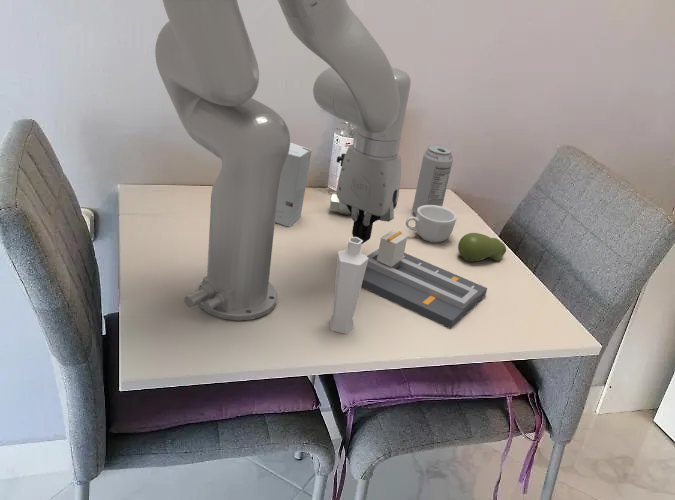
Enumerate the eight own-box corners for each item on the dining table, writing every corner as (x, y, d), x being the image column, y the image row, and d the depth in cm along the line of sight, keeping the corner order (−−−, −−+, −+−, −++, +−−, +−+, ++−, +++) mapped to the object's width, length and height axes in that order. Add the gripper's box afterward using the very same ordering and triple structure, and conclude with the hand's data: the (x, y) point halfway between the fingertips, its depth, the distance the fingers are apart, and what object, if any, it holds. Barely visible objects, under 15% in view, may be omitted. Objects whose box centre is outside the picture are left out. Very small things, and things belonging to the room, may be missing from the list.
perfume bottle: (358, 321, 107) (373, 236, 100) (352, 336, 103) (368, 249, 96) (329, 314, 108) (343, 229, 100) (323, 329, 104) (336, 242, 97)
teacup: (442, 228, 141) (447, 204, 139) (456, 246, 135) (463, 222, 132) (396, 228, 138) (401, 204, 136) (409, 246, 132) (414, 221, 129)
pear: (458, 226, 130) (499, 231, 134) (449, 251, 132) (489, 254, 136) (475, 240, 125) (516, 244, 130) (464, 265, 127) (505, 268, 132)
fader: (390, 273, 118) (396, 242, 115) (375, 266, 119) (381, 235, 117) (401, 264, 121) (408, 234, 118) (387, 258, 123) (393, 228, 120)
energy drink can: (427, 207, 149) (442, 142, 142) (445, 219, 145) (460, 153, 138) (405, 211, 146) (419, 144, 139) (422, 223, 142) (437, 155, 135)
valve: (361, 222, 138) (370, 167, 133) (328, 218, 138) (336, 162, 132) (361, 209, 144) (370, 155, 138) (329, 204, 144) (337, 151, 138)
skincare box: (252, 216, 134) (258, 144, 127) (265, 206, 139) (272, 136, 132) (291, 228, 132) (300, 155, 125) (303, 217, 137) (312, 146, 130)
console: (450, 328, 109) (454, 314, 107) (346, 279, 118) (348, 266, 116) (485, 295, 119) (489, 282, 118) (387, 253, 128) (390, 240, 127)
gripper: (326, 135, 114) (314, 232, 123) (404, 163, 107) (385, 264, 116) (351, 126, 120) (337, 220, 128) (426, 152, 113) (406, 249, 122)
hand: (360, 240), depth 122 cm, fingers closed
